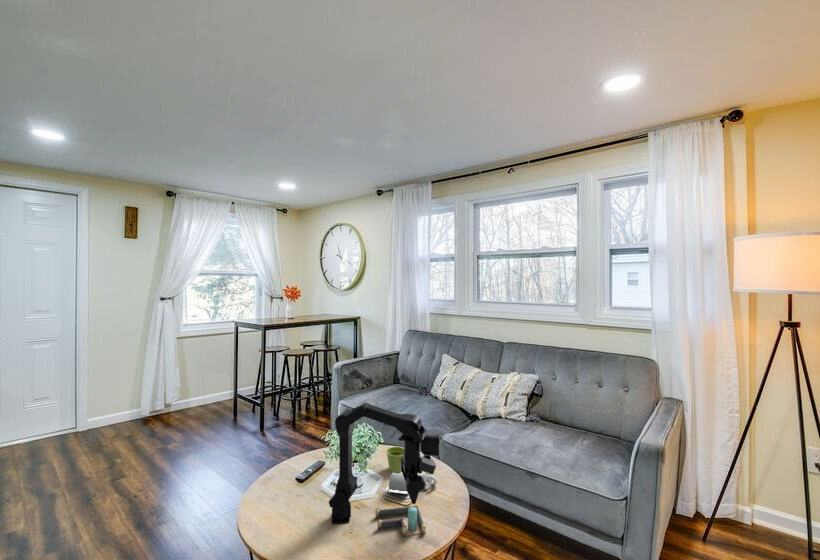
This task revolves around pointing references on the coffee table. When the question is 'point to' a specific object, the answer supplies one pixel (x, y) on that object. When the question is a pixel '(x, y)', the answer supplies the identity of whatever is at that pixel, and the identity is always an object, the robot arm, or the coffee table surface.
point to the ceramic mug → (397, 482)
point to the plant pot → (394, 458)
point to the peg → (412, 519)
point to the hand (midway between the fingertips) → (411, 496)
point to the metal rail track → (397, 522)
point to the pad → (413, 532)
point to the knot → (428, 479)
